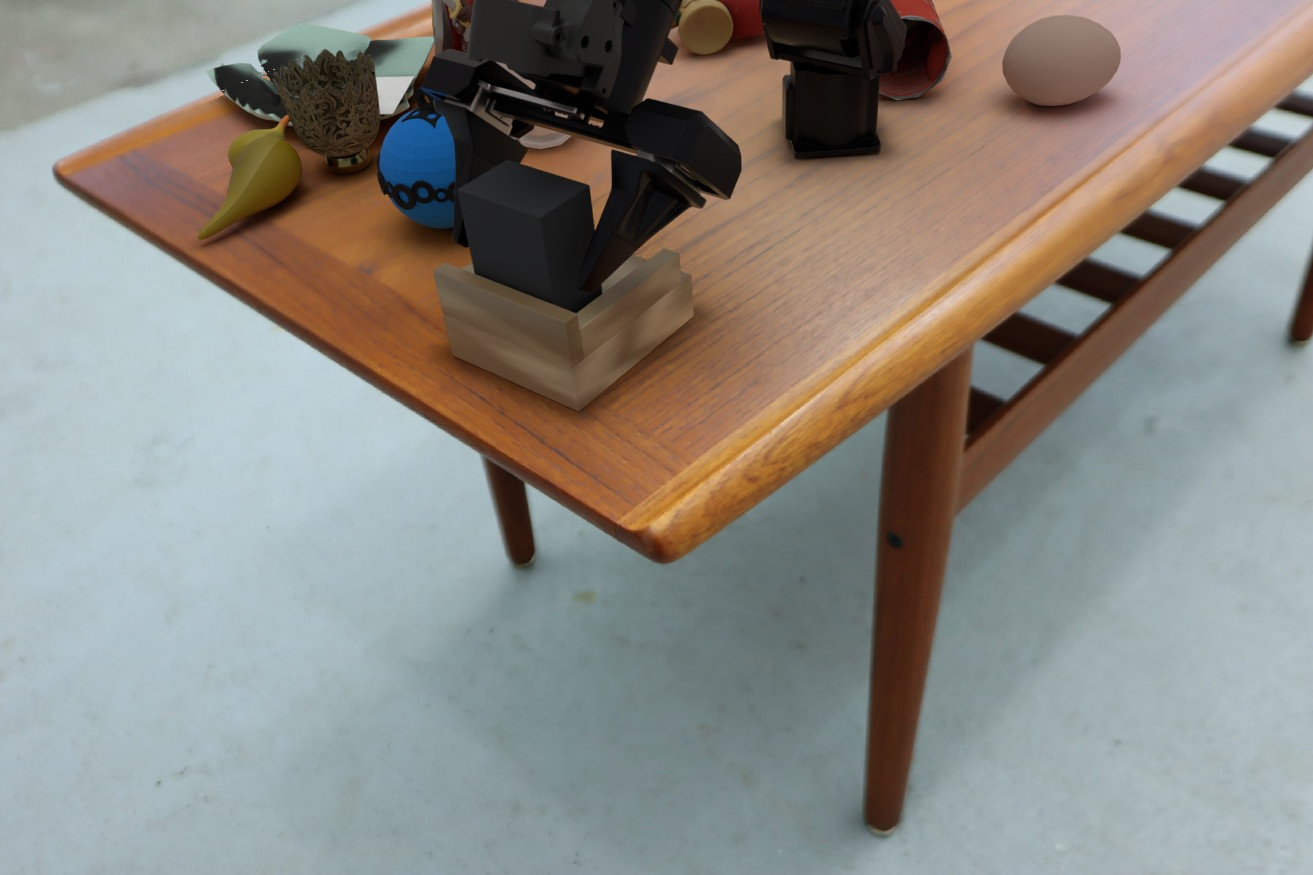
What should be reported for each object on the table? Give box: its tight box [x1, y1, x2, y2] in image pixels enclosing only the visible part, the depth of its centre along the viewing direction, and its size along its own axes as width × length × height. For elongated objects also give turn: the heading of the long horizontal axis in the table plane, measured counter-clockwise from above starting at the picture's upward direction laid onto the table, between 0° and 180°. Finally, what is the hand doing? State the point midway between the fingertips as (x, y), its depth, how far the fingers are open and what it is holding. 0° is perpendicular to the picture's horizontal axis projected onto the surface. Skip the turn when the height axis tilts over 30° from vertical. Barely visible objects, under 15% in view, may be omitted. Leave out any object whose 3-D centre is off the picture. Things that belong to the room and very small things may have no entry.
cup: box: [272, 49, 381, 175], centre depth 83 cm, size 8×7×8 cm
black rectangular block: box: [457, 160, 602, 313], centre depth 60 cm, size 4×6×8 cm, turn 53°
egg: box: [1001, 14, 1122, 107], centre depth 84 cm, size 7×7×9 cm
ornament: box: [376, 85, 455, 230], centre depth 75 cm, size 9×9×10 cm
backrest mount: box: [432, 247, 695, 413], centre depth 64 cm, size 11×10×6 cm
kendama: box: [671, 0, 764, 56], centre depth 99 cm, size 8×6×18 cm
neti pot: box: [196, 115, 303, 241], centre depth 82 cm, size 4×15×6 cm
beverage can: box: [879, 0, 953, 101], centre depth 91 cm, size 7×12×7 cm, turn 176°
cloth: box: [205, 21, 435, 127], centre depth 97 cm, size 20×22×2 cm
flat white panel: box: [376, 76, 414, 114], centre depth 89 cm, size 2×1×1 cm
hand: (519, 267), depth 60 cm, fingers open, 9 cm apart
